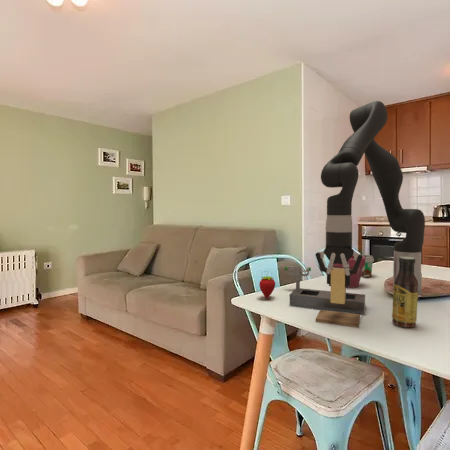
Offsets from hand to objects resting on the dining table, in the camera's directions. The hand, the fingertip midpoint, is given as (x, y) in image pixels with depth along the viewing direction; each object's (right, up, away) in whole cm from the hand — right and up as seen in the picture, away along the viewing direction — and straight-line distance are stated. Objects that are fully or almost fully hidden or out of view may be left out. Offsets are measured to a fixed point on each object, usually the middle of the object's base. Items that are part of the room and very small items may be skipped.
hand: (338, 286), depth 99 cm
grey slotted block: (+1, -10, +14) cm, 17 cm away
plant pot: (+19, -8, +43) cm, 48 cm away
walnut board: (0, -10, +1) cm, 10 cm away
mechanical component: (-4, -9, +36) cm, 37 cm away
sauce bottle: (+18, -11, -4) cm, 21 cm away
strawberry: (-18, -9, +25) cm, 32 cm away
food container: (+35, -7, +61) cm, 71 cm away
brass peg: (0, -5, 0) cm, 5 cm away
